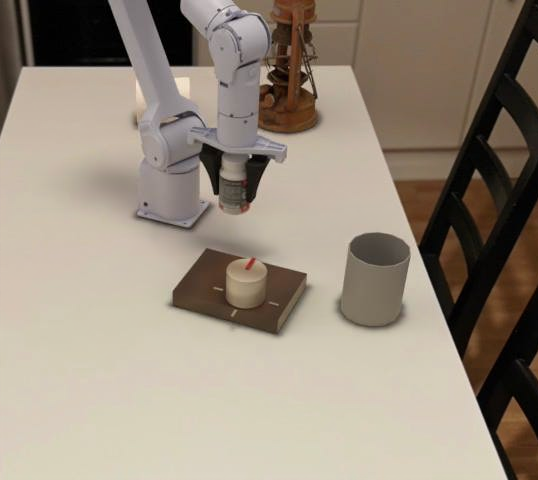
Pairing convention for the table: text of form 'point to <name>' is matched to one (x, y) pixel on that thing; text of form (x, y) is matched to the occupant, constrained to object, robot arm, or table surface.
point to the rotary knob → (246, 283)
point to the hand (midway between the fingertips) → (234, 196)
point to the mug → (183, 89)
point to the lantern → (289, 71)
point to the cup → (375, 278)
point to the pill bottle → (233, 184)
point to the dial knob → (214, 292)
